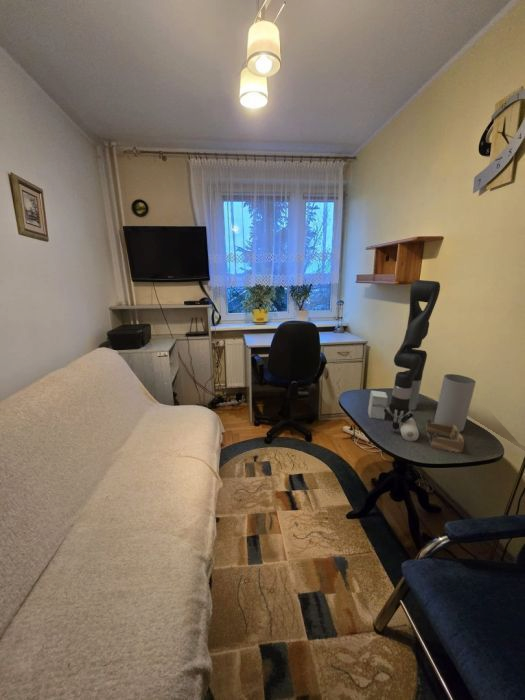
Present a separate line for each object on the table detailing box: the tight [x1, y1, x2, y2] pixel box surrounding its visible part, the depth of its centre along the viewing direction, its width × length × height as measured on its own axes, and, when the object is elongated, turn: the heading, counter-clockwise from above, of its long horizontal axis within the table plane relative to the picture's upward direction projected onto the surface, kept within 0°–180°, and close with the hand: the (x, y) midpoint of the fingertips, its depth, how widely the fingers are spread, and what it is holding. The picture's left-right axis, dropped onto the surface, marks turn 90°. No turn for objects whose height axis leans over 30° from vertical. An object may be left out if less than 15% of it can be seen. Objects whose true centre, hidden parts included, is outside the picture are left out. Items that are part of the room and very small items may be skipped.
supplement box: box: [367, 390, 389, 420], centre depth 147 cm, size 7×7×13 cm
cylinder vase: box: [433, 373, 477, 433], centre depth 138 cm, size 12×12×25 cm
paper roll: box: [399, 416, 420, 442], centre depth 131 cm, size 10×7×7 cm
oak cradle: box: [424, 418, 465, 453], centre depth 127 cm, size 14×11×7 cm
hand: (395, 428), depth 134 cm, fingers closed
